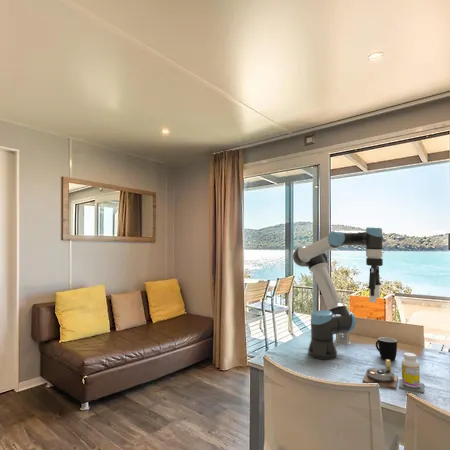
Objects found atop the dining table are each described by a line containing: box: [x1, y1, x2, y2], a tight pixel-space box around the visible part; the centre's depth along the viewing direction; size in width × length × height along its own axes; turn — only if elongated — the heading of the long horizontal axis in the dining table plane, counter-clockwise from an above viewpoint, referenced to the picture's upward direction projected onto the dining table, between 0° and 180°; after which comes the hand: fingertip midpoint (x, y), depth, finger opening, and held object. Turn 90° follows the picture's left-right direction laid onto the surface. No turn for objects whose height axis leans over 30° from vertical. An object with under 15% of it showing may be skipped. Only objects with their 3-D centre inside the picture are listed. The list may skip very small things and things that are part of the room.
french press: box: [333, 300, 352, 346], centre depth 199 cm, size 10×12×25 cm
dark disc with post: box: [366, 359, 395, 382], centre depth 144 cm, size 11×11×7 cm
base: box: [362, 371, 399, 390], centre depth 143 cm, size 13×13×1 cm
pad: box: [398, 378, 425, 394], centre depth 137 cm, size 9×9×1 cm
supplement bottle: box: [401, 352, 421, 388], centre depth 137 cm, size 7×7×13 cm
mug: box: [375, 336, 398, 362], centre depth 171 cm, size 12×9×10 cm
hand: (374, 300), depth 161 cm, fingers open, 13 cm apart
